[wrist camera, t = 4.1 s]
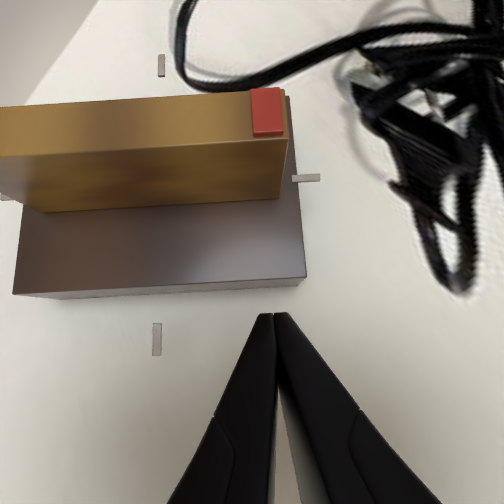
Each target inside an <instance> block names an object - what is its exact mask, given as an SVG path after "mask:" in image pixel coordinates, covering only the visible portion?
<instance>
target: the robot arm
mask: <svg viewBox="0 0 504 504" xmlns="http://www.w3.org/2000/svg"><path fill="white" fill-rule="evenodd" d="M278 389H279V395H280V401H281V406H282V411H283V415H284V420H285V425H286V430H287V435H288V440H289V445H290V450H291V454H292V459H293V464H294V469H295V474H296V479H297V484H298V488H299V493H300V498H301V503H302V504H442V503H441V502H440V501H439V500H438V499H437V497H436V496H435V495H434V494H433V493H432V492H431V491H430V490H429V489H428V488H427V487H426V485H425V484H424V483H423V482H422V481H421V480H420V479H419V478H418V477H417V476H416V475H415V474H414V472H413V471H412V470H411V469H410V468H409V467H408V466H407V465H406V463H405V462H404V461H403V460H402V459H401V458H400V457H399V456H398V454H397V453H396V452H395V451H394V450H393V449H392V448H391V446H390V445H389V444H388V443H387V442H386V440H385V439H384V438H383V437H382V435H381V434H380V433H379V432H378V430H377V429H376V428H375V427H374V425H373V424H372V423H371V421H370V420H369V419H368V417H367V416H366V415H365V413H364V412H363V411H362V410H359V409H360V407H359V406H358V404H357V403H356V402H355V401H354V399H353V398H352V397H351V395H350V394H349V393H348V391H347V390H346V389H345V387H344V386H343V385H342V383H341V382H340V381H339V379H338V378H337V377H336V375H335V374H334V373H333V371H332V370H331V369H330V368H329V366H328V365H327V364H326V362H325V361H324V360H323V358H322V357H321V356H320V354H319V353H318V352H317V350H316V349H315V348H314V346H313V345H312V344H311V342H310V341H309V340H308V339H307V337H306V336H305V335H304V333H303V332H302V331H301V329H300V328H299V327H298V325H297V324H296V323H295V321H294V320H293V319H292V317H291V316H290V315H289V314H288V313H287V312H281V313H274V315H273V314H272V313H262V314H259V315H258V317H257V319H256V321H255V324H254V326H253V328H252V330H251V332H250V335H249V337H248V339H247V341H246V344H245V346H244V348H243V350H242V352H241V355H240V357H239V359H238V361H237V364H236V366H235V368H234V370H233V372H232V375H231V377H230V379H229V381H228V384H227V386H226V388H225V390H224V392H223V395H222V397H221V399H220V401H219V403H218V406H217V408H216V410H215V412H214V417H212V419H211V421H210V423H209V425H208V427H207V430H206V432H205V434H204V436H203V438H202V440H201V442H200V444H199V446H198V448H197V450H196V452H195V454H194V456H193V458H192V460H191V462H190V464H189V465H188V467H187V469H186V471H185V473H184V474H183V476H182V478H181V480H180V481H179V483H178V485H177V487H176V488H175V490H174V492H173V493H172V495H171V497H170V498H169V500H168V502H167V503H166V504H274V494H275V466H276V438H277V410H278Z"/></svg>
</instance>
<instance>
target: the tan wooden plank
mask: <svg viewBox="0 0 504 504" xmlns="http://www.w3.org/2000/svg"><path fill="white" fill-rule="evenodd" d="M288 142H289V131H288V121H287V110H286V99H285V90H284V89H280V88H279V87H274V88H259V89H251V90H250V91H244V92H228V93H213V94H197V95H182V96H167V97H151V98H136V99H120V100H105V101H89V102H74V103H59V104H43V105H28V106H13V107H0V193H1V194H3V195H5V196H7V197H9V198H12V199H14V200H16V201H18V202H20V203H22V204H24V205H26V206H28V207H30V208H32V209H34V210H36V211H38V212H40V213H46V212H62V211H79V210H95V209H111V208H128V207H144V206H161V205H177V204H193V203H210V202H226V201H243V200H259V199H275V198H279V197H280V191H281V185H282V179H283V173H284V167H285V161H286V154H287V148H288Z"/></svg>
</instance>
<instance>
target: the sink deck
mask: <svg viewBox="0 0 504 504" xmlns="http://www.w3.org/2000/svg"><path fill="white" fill-rule="evenodd" d="M158 77H165V55H164V54H160V55H158ZM285 99H286V110H287V121H288V131H289V142H288V148H287V154H286V161H285V167H284V173H283V179H282V185H281V191H280V197H279V198H275V199H259V200H243V201H226V202H210V203H193V204H177V205H161V206H144V207H128V208H111V209H95V210H79V211H62V212H46V213H40V212H38V211H36V210H34V209H32V208H30V207H28V206H26V205H23V213H22V221H21V228H20V236H19V244H18V252H17V260H16V268H15V276H14V284H13V292H12V294H13V295H21V296H31V297H40V298H50V299H60V300H61V299H78V298H96V297H113V296H130V295H148V294H165V293H182V292H199V291H217V290H234V289H251V288H269V287H286V286H298V285H299V284H300V283H301V282H302V281H303V280H304V279H305V278H306V277H307V272H306V262H305V252H304V241H303V231H302V221H301V211H300V200H299V190H298V183H300V182H316V181H320V174H304V175H297V170H296V159H295V149H294V139H293V129H292V119H291V108H290V98H289V96H285ZM0 200H1V201H7V200H14V199H12V198H9V197H7V196H5V195H3V194H0ZM161 341H162V323H153V349H152V356H160V355H161Z"/></svg>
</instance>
